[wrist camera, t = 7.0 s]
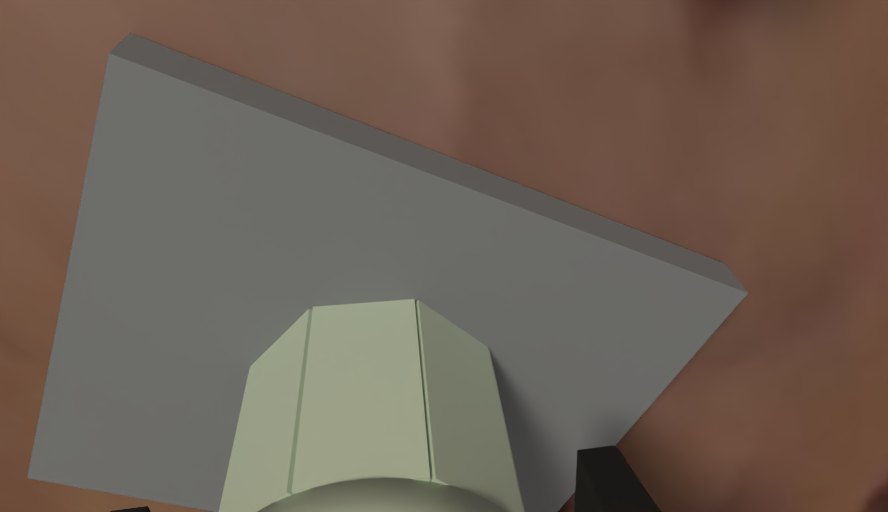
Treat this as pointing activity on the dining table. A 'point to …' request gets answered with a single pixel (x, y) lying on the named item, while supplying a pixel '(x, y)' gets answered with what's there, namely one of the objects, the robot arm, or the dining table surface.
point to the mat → (331, 282)
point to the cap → (372, 418)
